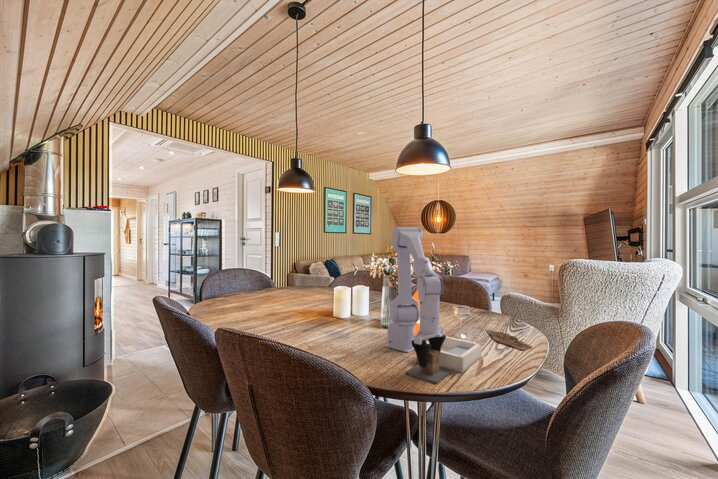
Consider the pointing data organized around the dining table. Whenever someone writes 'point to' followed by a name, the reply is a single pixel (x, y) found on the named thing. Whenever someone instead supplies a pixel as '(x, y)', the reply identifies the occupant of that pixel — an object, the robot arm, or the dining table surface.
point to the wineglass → (461, 316)
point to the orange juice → (415, 296)
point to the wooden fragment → (508, 340)
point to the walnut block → (431, 363)
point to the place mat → (431, 378)
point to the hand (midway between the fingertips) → (428, 362)
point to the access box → (458, 354)
